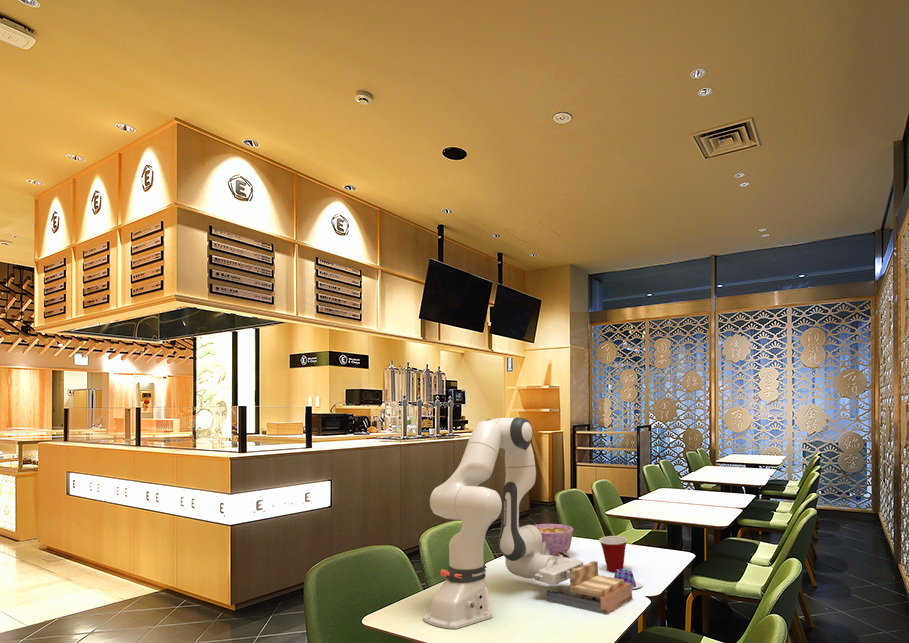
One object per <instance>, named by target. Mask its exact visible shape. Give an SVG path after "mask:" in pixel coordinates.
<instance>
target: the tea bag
mask: <svg viewBox="0 0 909 643" xmlns="http://www.w3.org/2000/svg"><path fill="white" fill-rule="evenodd" d="M541 554H543V555H550V552H549V549H548V546H547V543H546V542H543V543H542V553H541Z"/></svg>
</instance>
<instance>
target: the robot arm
mask: <svg viewBox="0 0 909 643" xmlns="http://www.w3.org/2000/svg"><path fill="white" fill-rule="evenodd" d="M476 424H477V425H476V426H475V427H474V429H473V431H472V432H471V435H470V437H469V439H468V440H467V441H468V442H467V443H466V447H465V450H464V453H463V455H462V458H461V461H460V463H459V465H458V466H457V468H456V469H455V471H454V472H453V473H452V475H450V477H449V478H448V479H447V480H445V482H442V483H441V484H440V485H438V486H436V487H435V488H434V489H433V490H432V492H431V494H430V497H429V507H430V509H431V511H432V513H433V514H434V515H436V516H439V517H440V518H443V519H447V520H455V521H461V523H462V524H461V529H460V531H459V532H458V531H457V532H456V533H455V534H454V535H453V536H452V537H451V538H450V539H449V542H448V550H449V553H448V554H449V558H448V559H449V562H448V563H449V565H448V567H447V569H441V570H440V572H439V575H440V576H441V577H445V581H443V583H442V585H440V588H438V590H437V592H436V593H435V594H434V595H433V597H432V599H431V603H430V604H431V605H430V611H429V612H427V613H426V614H424V615H423V617H422V618H423V619H422V620H423V621H424V622H426V623H427V624H429V625H432V626H436V627H439V628H442V629H443V628H444V629H450V630H451V629H452V630H454V629H456V630H457V629H460V628H463V627H467V626H469V625H472V624H473V625H474V624H476V623H479V622H482V621H486V620H489V619H492V618H493V613H492V611H491V607H490V599H489V591H488V588H487V584H486V581H485V579H486V574H487V573H486V571H487V570H486V565H485V563H484V562H485V558H484V557H485V555H484V553H485V552H484V551H485V550H484V547H485V538H486V535H487V534H486V533H487V531H488V529H489V527H490V526H491V525H492V523H494V522H495V521H496V520H498V518H499V516H500V515H501V521H500V522H501V523H500V524H501V525H500V533H499V537H498V548H499V551H500V552H501V554H502V556H503V557H504V558H505V567H506V569H507V570H508V572H510V573H511V574H512V575H514V576H517V577H520V578H524V579H534V580H535V581H538V582H541V583H544V584H547V585H551V586H552V585H553V586H554V585H558V584H560V583H563V582H564V581H567V580H570V571H572V570H574V569H576V568H578V567H581V566H583V565H584V562H583V561H582V560H579V559H576V558H573V557H572V558H571V557H570V558H566V557H563V555H552V556H551V555H543V554H541V553H542V543H543V538H542V534H541V532H540V531H539V529H538V528H537V527H535V526H534V525H535V524H526V525H522V526H520V522H519V518H520V504H521V501H522V499H523V497H524V496H525V495H526V494H527V493H528V492H529V491H530V490H531V489H532V488H533V487H534V485H535V484H536V478H537V470H536V469H537V468H536V461H535V455H534V450H533V447H532V441H533V439H534V428H533V426H532V424H531V422H530V421H529V420H528V419H527V418H525V417H520V416H517V417H496V418H492V419H491V418H490V419H485V420H482V421H481V420H480V421H479V422H478V423H476ZM500 449H503V450H504V466H505V481H504V485H503V488H502V494H501V496H500V494H499V493H498V491H497V490H495V489H492V488H489V487H485V486H479V485H480V484H482V483H484V482H485V481H487V480H488V479H490V478H491V476H492V474H493V471H494V468H495V465H496V461H497V458H498V455H499V452H500Z"/></svg>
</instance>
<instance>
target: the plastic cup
mask: <svg viewBox="0 0 909 643" xmlns="http://www.w3.org/2000/svg"><path fill="white" fill-rule="evenodd" d="M598 542H599V543H600V545H601V549H602V551H603V557H604V562H605V565H606V569H607V571H608V572H610V573H614V574H615V571H616V570H618V569H624V564H625V556H626V554H625V553H626V546H627V542H628V538H626V537H624V536H619V535H609V536H603V537H601V538H599V540H598Z"/></svg>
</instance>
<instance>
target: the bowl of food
mask: <svg viewBox="0 0 909 643" xmlns="http://www.w3.org/2000/svg"><path fill="white" fill-rule="evenodd" d="M533 525H534V526H535V527H537V528H538V529H539V531H540V532H541V534H542V538H543V542H546V543H547V546H548V549H549V552H550V555H551V556H552V555H553V554H556V553H557V551H559V552H562V553H563V554H565V555H567V553H569V550H570V548H571V544H572V539H573V533H574V528H573V527H572V526H570V525H565V524H559V523H558V524H557V523H541V524H540V523H539V524H533Z"/></svg>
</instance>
